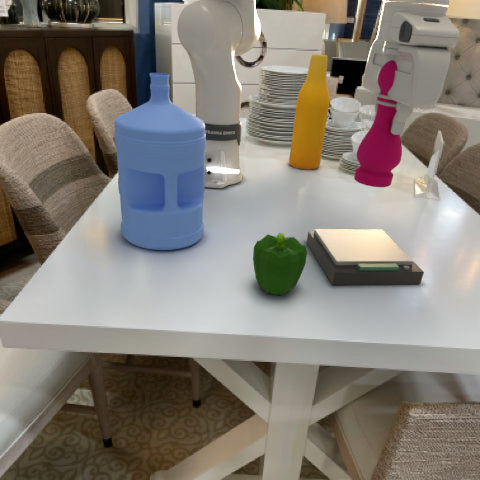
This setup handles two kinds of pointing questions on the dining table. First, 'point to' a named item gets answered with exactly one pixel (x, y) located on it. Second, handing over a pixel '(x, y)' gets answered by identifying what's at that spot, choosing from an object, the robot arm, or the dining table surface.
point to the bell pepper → (278, 263)
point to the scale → (362, 257)
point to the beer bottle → (310, 117)
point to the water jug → (160, 171)
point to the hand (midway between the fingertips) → (387, 129)
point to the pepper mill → (380, 137)
